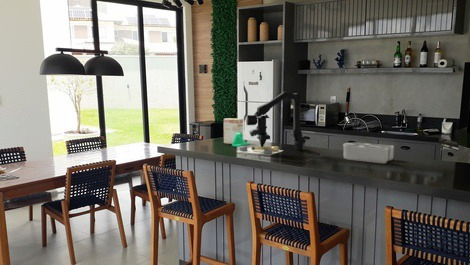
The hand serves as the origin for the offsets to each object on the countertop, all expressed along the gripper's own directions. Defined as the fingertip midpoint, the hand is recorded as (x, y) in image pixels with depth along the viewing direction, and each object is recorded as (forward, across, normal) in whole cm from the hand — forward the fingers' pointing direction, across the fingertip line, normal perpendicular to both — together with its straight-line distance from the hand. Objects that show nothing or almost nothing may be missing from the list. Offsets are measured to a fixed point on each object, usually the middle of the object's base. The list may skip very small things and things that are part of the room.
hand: (261, 147), depth 274 cm
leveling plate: (+3, +1, -2) cm, 4 cm away
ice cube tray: (+3, +38, +56) cm, 67 cm away
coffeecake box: (+6, -46, -10) cm, 48 cm away
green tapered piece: (+5, -30, -8) cm, 31 cm away
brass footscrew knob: (+2, +2, +2) cm, 3 cm away
